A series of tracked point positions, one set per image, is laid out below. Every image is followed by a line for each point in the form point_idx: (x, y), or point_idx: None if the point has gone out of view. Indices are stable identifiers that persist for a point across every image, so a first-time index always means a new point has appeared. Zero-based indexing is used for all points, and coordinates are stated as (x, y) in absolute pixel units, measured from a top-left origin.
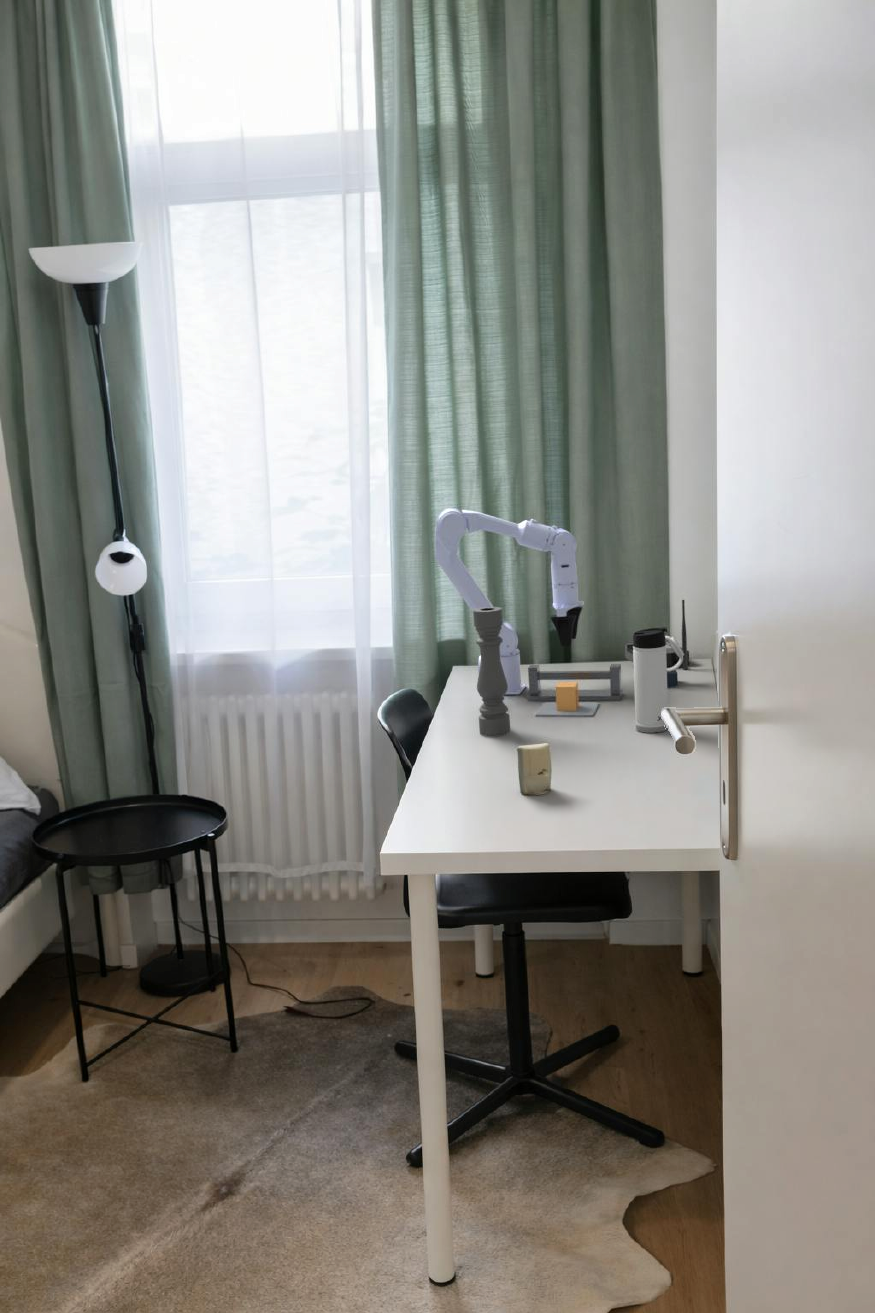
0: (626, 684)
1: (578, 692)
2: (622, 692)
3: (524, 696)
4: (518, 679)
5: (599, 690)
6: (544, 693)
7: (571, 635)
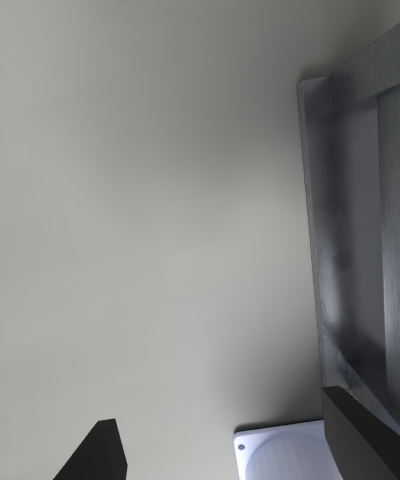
0: (147, 112)
1: (358, 236)
2: (299, 83)
3: None
4: (318, 464)
5: (323, 168)
6: (376, 342)
7: (394, 431)
